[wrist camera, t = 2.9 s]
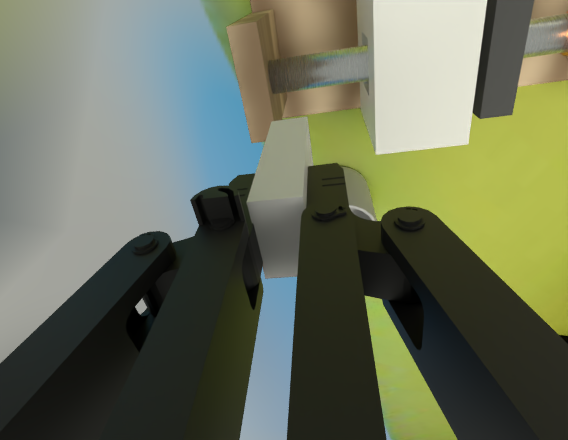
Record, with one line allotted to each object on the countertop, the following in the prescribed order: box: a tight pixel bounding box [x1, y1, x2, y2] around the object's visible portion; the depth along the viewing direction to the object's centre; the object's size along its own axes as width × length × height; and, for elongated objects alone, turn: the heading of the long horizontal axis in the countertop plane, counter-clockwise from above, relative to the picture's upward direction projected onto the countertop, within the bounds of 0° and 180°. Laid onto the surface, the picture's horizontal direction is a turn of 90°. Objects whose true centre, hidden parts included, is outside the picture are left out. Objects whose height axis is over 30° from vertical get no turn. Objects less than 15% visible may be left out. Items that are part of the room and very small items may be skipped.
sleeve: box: [356, 0, 487, 155], centre depth 26 cm, size 6×10×10 cm, turn 9°
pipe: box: [268, 11, 568, 94], centre depth 25 cm, size 28×3×3 cm, turn 99°
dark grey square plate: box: [473, 0, 534, 119], centre depth 25 cm, size 2×8×8 cm, turn 9°
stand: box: [226, 0, 568, 143], centre depth 28 cm, size 30×12×12 cm, turn 99°
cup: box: [340, 166, 377, 221], centre depth 40 cm, size 7×10×9 cm
